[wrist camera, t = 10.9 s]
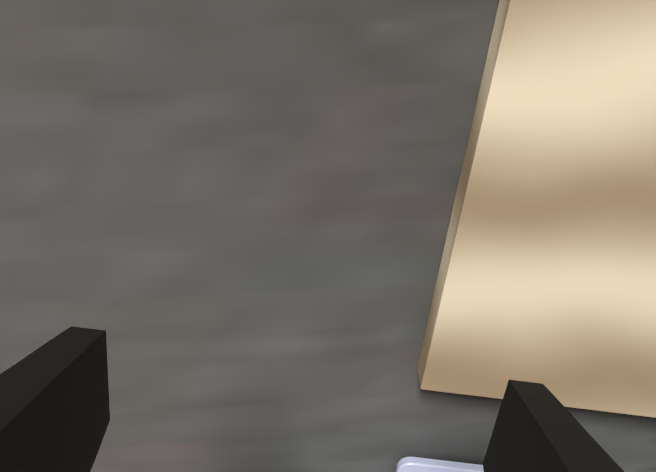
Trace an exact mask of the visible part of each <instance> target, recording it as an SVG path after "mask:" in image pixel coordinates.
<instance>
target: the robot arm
mask: <svg viewBox="0 0 656 472" xmlns="http://www.w3.org/2000/svg"><path fill="white" fill-rule="evenodd" d="M109 421H110V413H109V391H108V369H107V348H106V331H104V330H96V329H88V328H79V327H70V328H68V329H67V330H65V331H64V332H62V333H61V334H59V335H58V336H56V337H55V338H53V339H52V340H50V341H49V342H47V343H46V344H44V345H43V346H41V347H40V348H38V349H37V350H36V351H34V352H33V353H31V354H30V355H28V356H27V357H25V358H24V359H22V360H21V361H19V362H18V363H17V364H15V365H14V366H12V367H11V368H9V369H8V370H6V371H5V372H3V373H1V374H0V472H90V471H91V468H92V466H93V463H94V461H95V458H96V455H97V453H98V450H99V448H100V445H101V442H102V440H103V437H104V434H105V431H106V429H107V426H108V423H109ZM395 472H624V471H623V470H622V469H621V468H620V467H619V466H618V465H617V464H616V463H615V462H614V460H613V459H612V458H611V457H610V456H609V455H608V454H607V453H606V452H605V451H604V450H603V449H602V448H601V447H600V445H599V444H598V443H597V442H596V441H595V440H594V439H593V438H592V437H591V436H590V435H589V433H588V432H587V431H586V430H585V429H584V428H583V427H582V426H581V425H580V424H579V422H578V421H577V420H576V419H575V418H574V417H573V416H572V415H571V414H570V412H569V411H568V410H567V409H566V408H565V407H564V406H563V405H562V404H561V402H560V401H559V400H558V399H557V398H556V397H555V396H554V395H553V394H552V393H551V392H550V391H549V390H548V389H547V388H546V386H545V385H544V384H541V383H533V382H525V381H517V380H509V381H508V384H507V387H506V390H505V394H504V397H503V400H502V403H501V407H500V410H499V413H498V416H497V420H496V423H495V426H494V429H493V433H492V436H491V439H490V442H489V446H488V449H487V452H486V456H485V459H484V462H483V465H478V464H469V463H461V462H452V461H444V460H436V459H427V458H419V457H405V458H402V459H401V460H400V461H399V462H398V464H397V467H396V471H395Z"/></svg>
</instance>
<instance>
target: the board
mask: <svg viewBox="0 0 656 472" xmlns="http://www.w3.org/2000/svg"><path fill="white" fill-rule="evenodd" d="M417 368H418V375H419V382H420V389H423V390H432V391H440V392H448V393H456V394H465V395H473V396H481V397H490V398H498V399H503V397H504V394H505V390H506V387H507V384H508V381H509V380H517V381H525V382H533V383H541V384H544V385H545V386H546V388H547V389H548V390H549V391H550V392H551V393H552V394H553V395H554V396H555V397H556V398H557V399H558V400H559V401H560V402H561V404H562V405H563V406H564V407H572V408H581V409H589V410H597V411H605V412H614V413H622V414H630V415H639V416H647V417H655V418H656V0H500V1H499V5H498V10H497V14H496V19H495V23H494V27H493V32H492V36H491V41H490V45H489V50H488V54H487V59H486V63H485V68H484V72H483V77H482V81H481V85H480V90H479V94H478V99H477V103H476V108H475V112H474V117H473V121H472V126H471V130H470V135H469V139H468V144H467V148H466V152H465V157H464V161H463V166H462V170H461V175H460V179H459V184H458V188H457V193H456V197H455V202H454V206H453V210H452V215H451V219H450V224H449V228H448V233H447V237H446V242H445V246H444V251H443V255H442V260H441V264H440V268H439V273H438V277H437V282H436V286H435V291H434V295H433V300H432V304H431V309H430V313H429V318H428V322H427V327H426V331H425V335H424V340H423V344H422V349H421V353H420V358H419V362H418V367H417Z"/></svg>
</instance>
